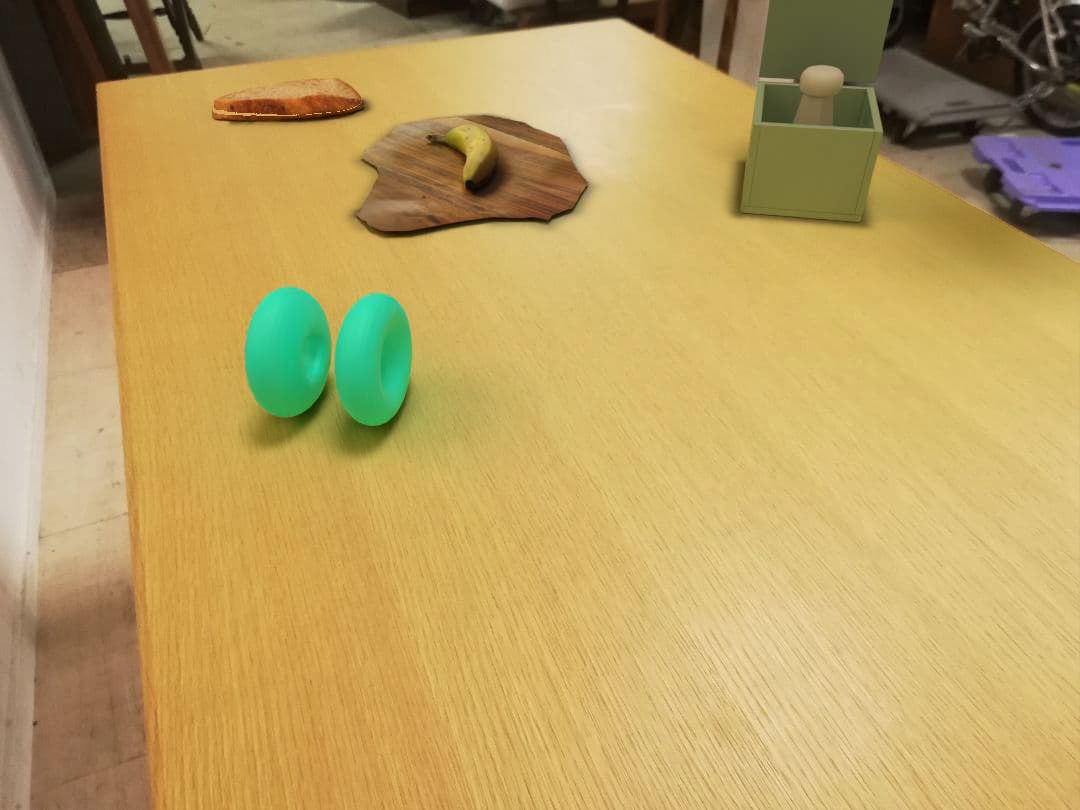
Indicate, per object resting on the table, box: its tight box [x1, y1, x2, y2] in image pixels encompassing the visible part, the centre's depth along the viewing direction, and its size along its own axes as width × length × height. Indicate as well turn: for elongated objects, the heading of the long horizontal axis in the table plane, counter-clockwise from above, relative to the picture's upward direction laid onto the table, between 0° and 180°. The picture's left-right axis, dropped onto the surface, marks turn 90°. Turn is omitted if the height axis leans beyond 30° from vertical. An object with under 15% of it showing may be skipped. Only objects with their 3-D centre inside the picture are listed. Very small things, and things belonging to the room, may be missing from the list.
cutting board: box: [356, 114, 590, 232], centre depth 96 cm, size 35×27×4 cm
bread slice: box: [211, 77, 365, 122], centre depth 114 cm, size 18×18×4 cm
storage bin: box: [739, 80, 884, 223], centre depth 87 cm, size 14×13×10 cm
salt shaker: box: [793, 65, 845, 126], centre depth 85 cm, size 6×6×13 cm
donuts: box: [244, 286, 413, 427], centre depth 59 cm, size 10×10×10 cm
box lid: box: [758, 0, 894, 84], centre depth 86 cm, size 14×13×5 cm
